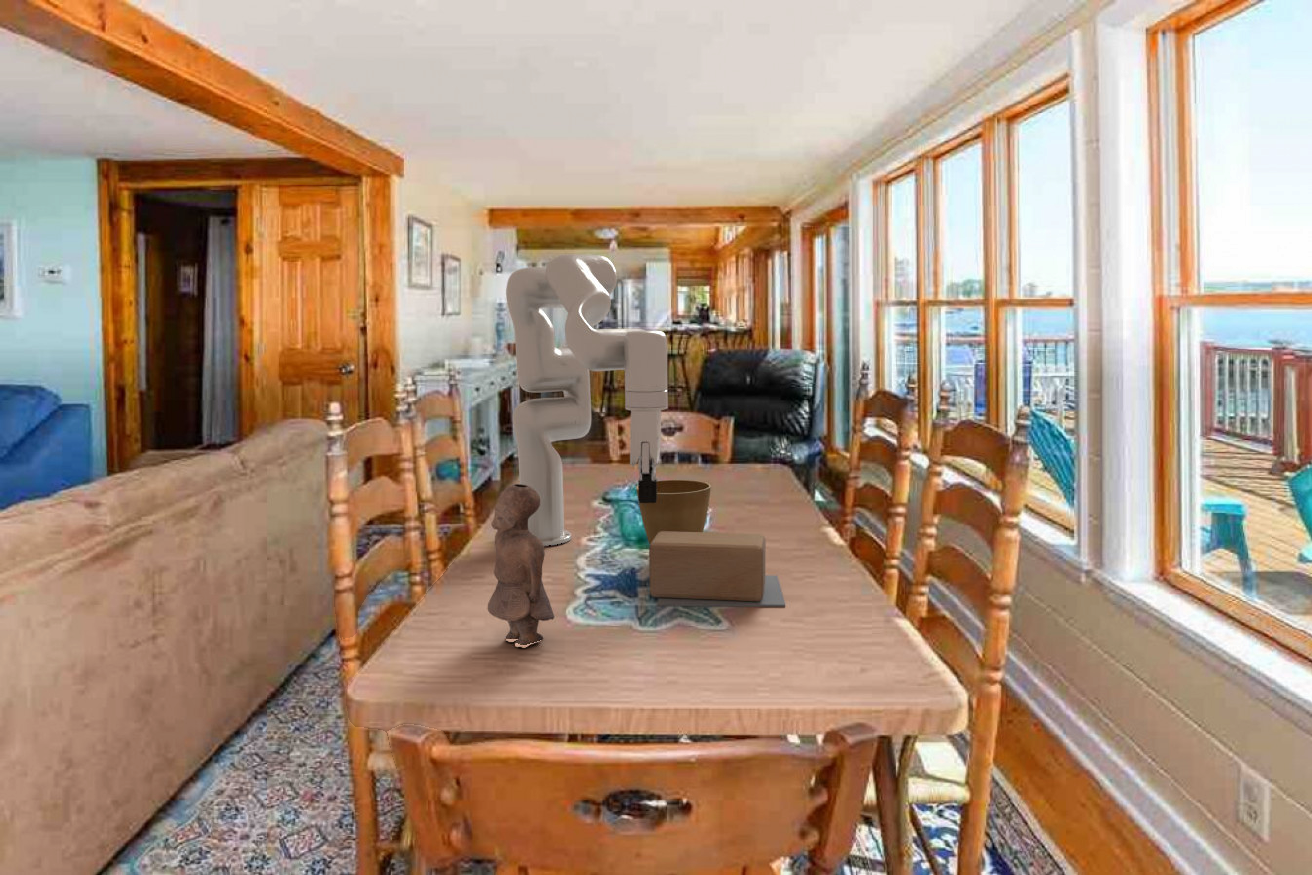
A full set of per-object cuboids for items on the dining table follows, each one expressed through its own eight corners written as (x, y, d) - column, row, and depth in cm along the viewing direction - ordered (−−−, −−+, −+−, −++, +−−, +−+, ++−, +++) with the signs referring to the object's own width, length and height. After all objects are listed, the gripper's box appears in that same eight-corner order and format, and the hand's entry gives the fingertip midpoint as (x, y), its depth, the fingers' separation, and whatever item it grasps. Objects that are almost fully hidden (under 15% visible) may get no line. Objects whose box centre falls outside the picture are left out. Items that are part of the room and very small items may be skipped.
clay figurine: (474, 638, 142) (468, 482, 139) (530, 624, 148) (525, 474, 145) (515, 662, 132) (509, 495, 128) (573, 646, 138) (568, 486, 134)
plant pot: (719, 556, 187) (719, 480, 185) (699, 576, 173) (698, 495, 171) (651, 550, 192) (650, 476, 189) (626, 570, 178) (625, 490, 176)
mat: (657, 605, 156) (657, 603, 156) (662, 576, 173) (662, 574, 173) (785, 606, 155) (785, 604, 155) (777, 577, 172) (777, 575, 172)
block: (648, 598, 159) (762, 603, 156) (647, 543, 158) (763, 547, 154) (658, 581, 169) (765, 585, 165) (657, 529, 167) (765, 532, 164)
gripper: (628, 396, 167) (630, 493, 170) (621, 405, 153) (623, 511, 155) (669, 396, 167) (670, 493, 170) (665, 405, 152) (666, 511, 155)
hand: (647, 501), depth 162 cm, fingers closed
